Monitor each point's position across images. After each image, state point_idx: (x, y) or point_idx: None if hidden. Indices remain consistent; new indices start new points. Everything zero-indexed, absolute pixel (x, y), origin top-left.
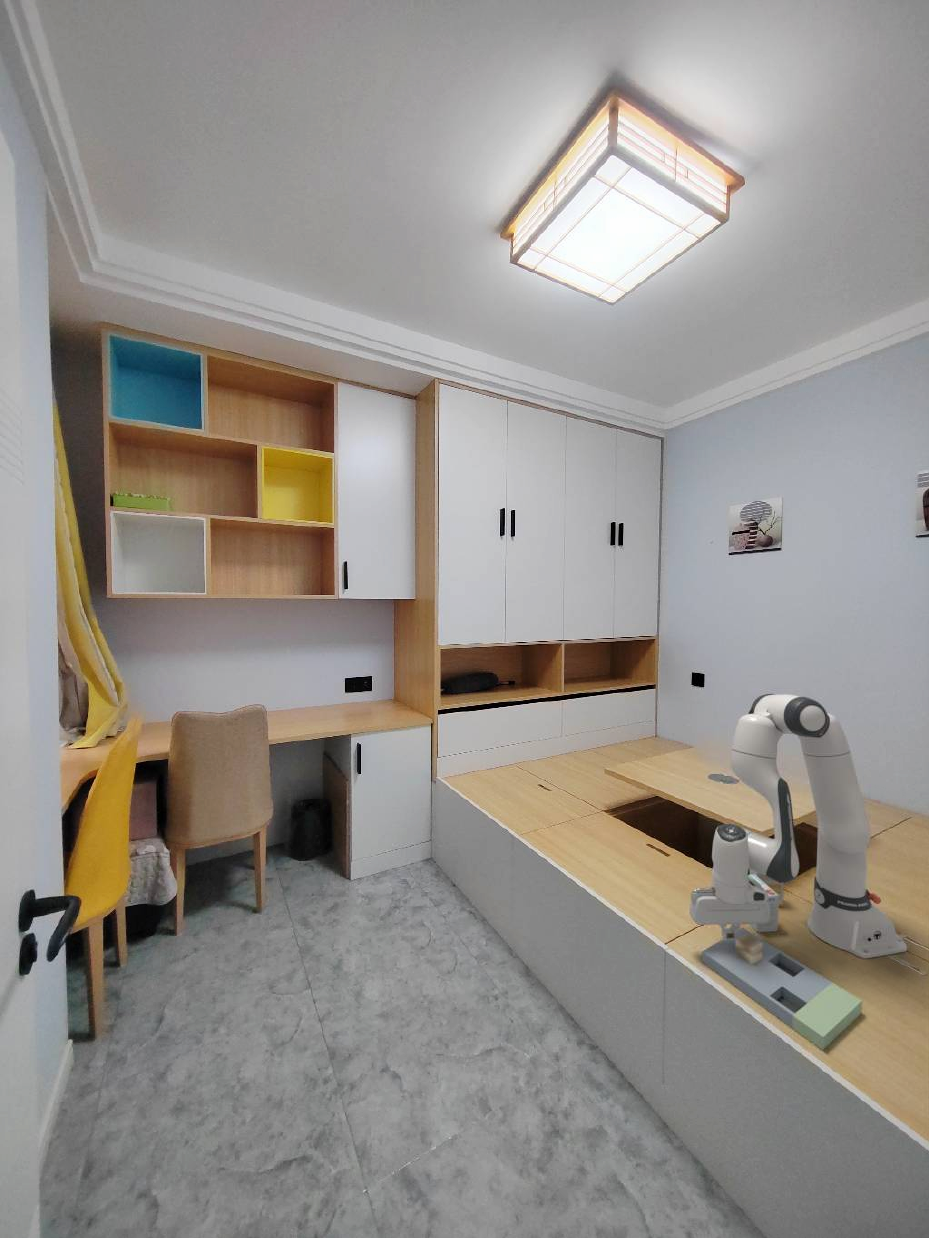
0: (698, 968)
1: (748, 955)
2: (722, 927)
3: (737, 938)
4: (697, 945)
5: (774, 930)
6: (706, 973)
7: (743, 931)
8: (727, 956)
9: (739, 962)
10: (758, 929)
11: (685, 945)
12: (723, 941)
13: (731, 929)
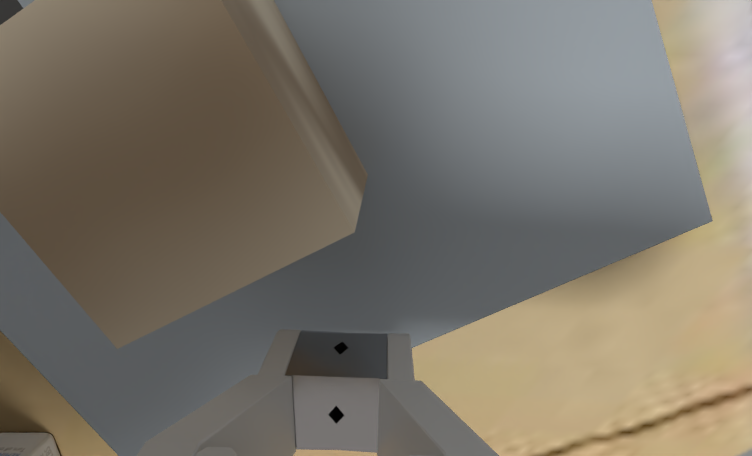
0: (720, 125)
1: (269, 21)
2: (484, 453)
3: (315, 242)
4: (548, 350)
5: None
6: (693, 63)
7: (138, 426)
8: (482, 136)
9: (399, 37)
10: (21, 447)
11: (641, 355)
12: (391, 332)
13: (289, 427)
